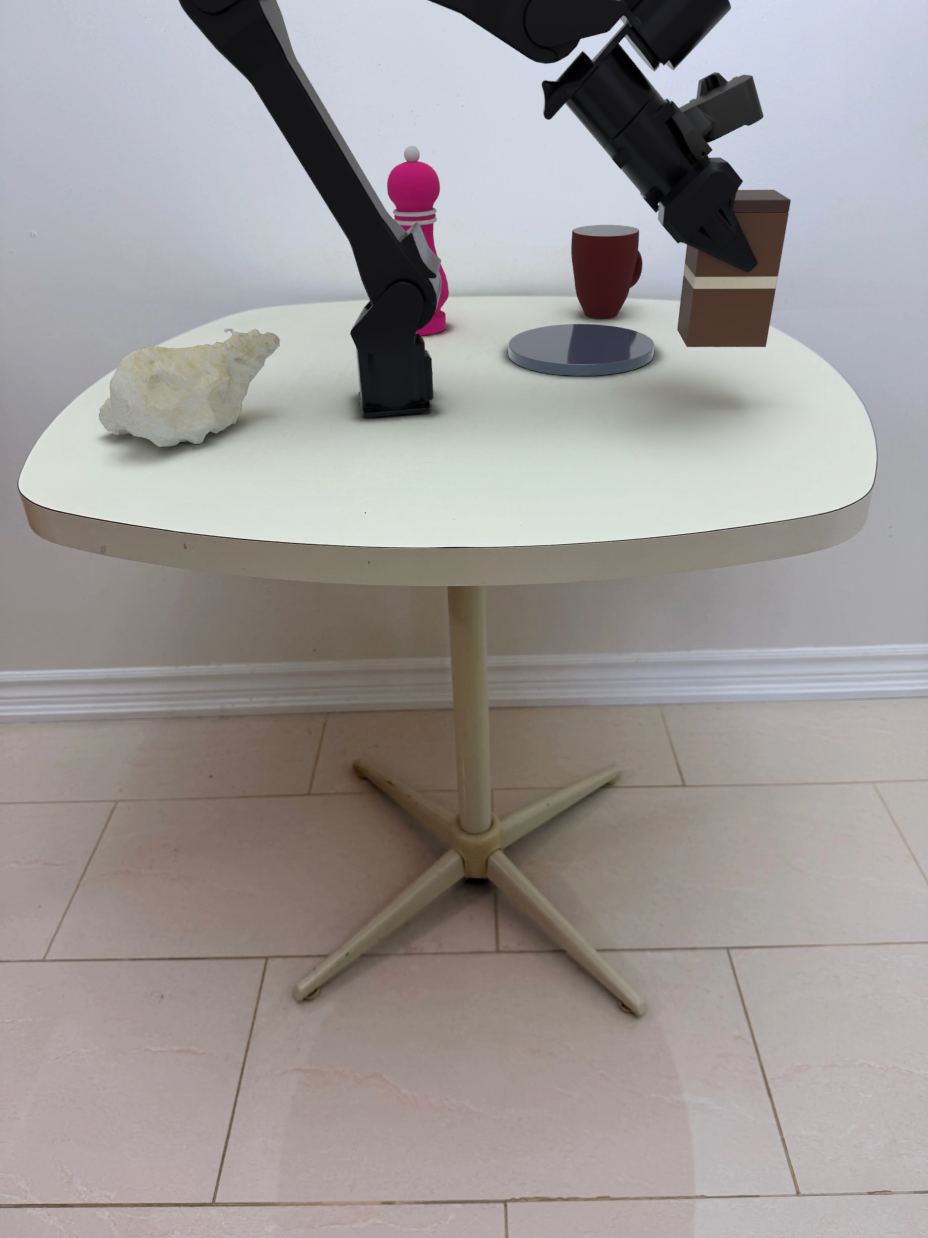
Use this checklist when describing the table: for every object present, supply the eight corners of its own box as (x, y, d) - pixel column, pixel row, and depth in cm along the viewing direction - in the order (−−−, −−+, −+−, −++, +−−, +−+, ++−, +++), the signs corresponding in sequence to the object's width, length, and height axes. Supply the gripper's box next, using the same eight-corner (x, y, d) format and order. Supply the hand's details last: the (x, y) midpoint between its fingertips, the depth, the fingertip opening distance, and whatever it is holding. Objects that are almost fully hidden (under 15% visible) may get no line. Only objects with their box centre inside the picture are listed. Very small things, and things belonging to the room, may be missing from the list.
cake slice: (686, 347, 80) (704, 199, 73) (676, 329, 85) (693, 189, 78) (766, 347, 80) (791, 199, 73) (752, 329, 84) (774, 189, 78)
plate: (526, 381, 92) (526, 369, 92) (495, 339, 106) (495, 329, 105) (675, 369, 94) (676, 357, 94) (626, 329, 108) (627, 319, 107)
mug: (606, 300, 120) (610, 219, 114) (657, 310, 115) (664, 225, 110) (555, 316, 113) (558, 231, 108) (607, 327, 109) (612, 238, 103)
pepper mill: (461, 325, 111) (456, 143, 100) (428, 339, 106) (419, 149, 95) (413, 318, 115) (403, 141, 104) (379, 332, 109) (365, 147, 99)
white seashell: (93, 489, 77) (196, 388, 69) (54, 415, 77) (152, 307, 70) (218, 477, 90) (316, 391, 83) (184, 414, 91) (279, 323, 83)
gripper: (730, 32, 62) (860, 205, 67) (691, 34, 77) (798, 174, 83) (607, 161, 67) (737, 313, 72) (593, 138, 82) (701, 265, 87)
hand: (746, 260), depth 78 cm, fingers closed on cake slice, 5 cm apart
